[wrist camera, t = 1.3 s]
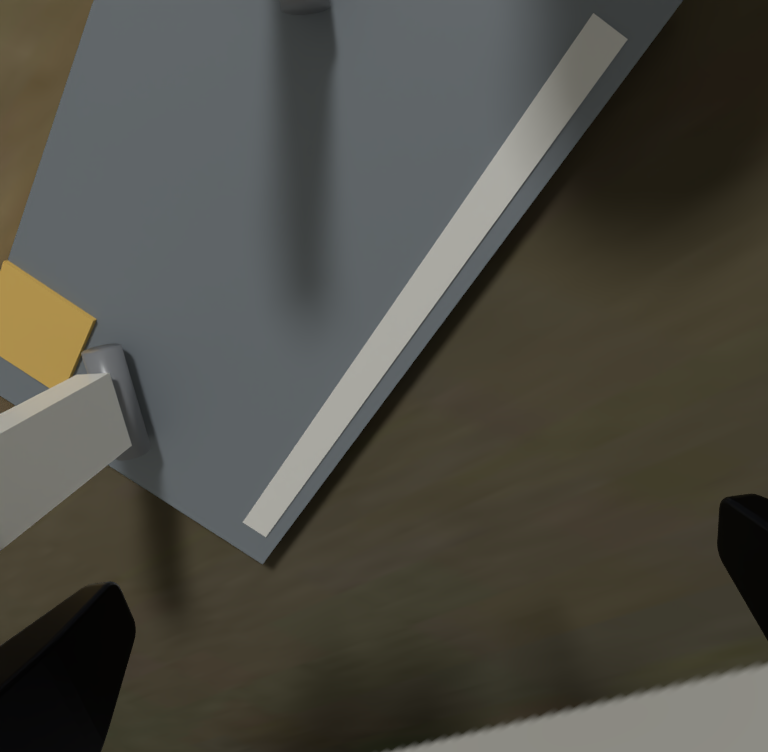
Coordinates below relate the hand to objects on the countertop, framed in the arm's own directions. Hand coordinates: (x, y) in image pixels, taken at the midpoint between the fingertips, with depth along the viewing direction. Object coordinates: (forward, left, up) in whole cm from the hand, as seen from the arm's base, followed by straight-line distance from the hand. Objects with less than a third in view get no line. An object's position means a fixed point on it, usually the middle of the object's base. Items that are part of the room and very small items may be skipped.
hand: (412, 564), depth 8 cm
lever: (+9, +10, -11) cm, 17 cm away
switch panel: (+8, +1, -13) cm, 15 cm away
